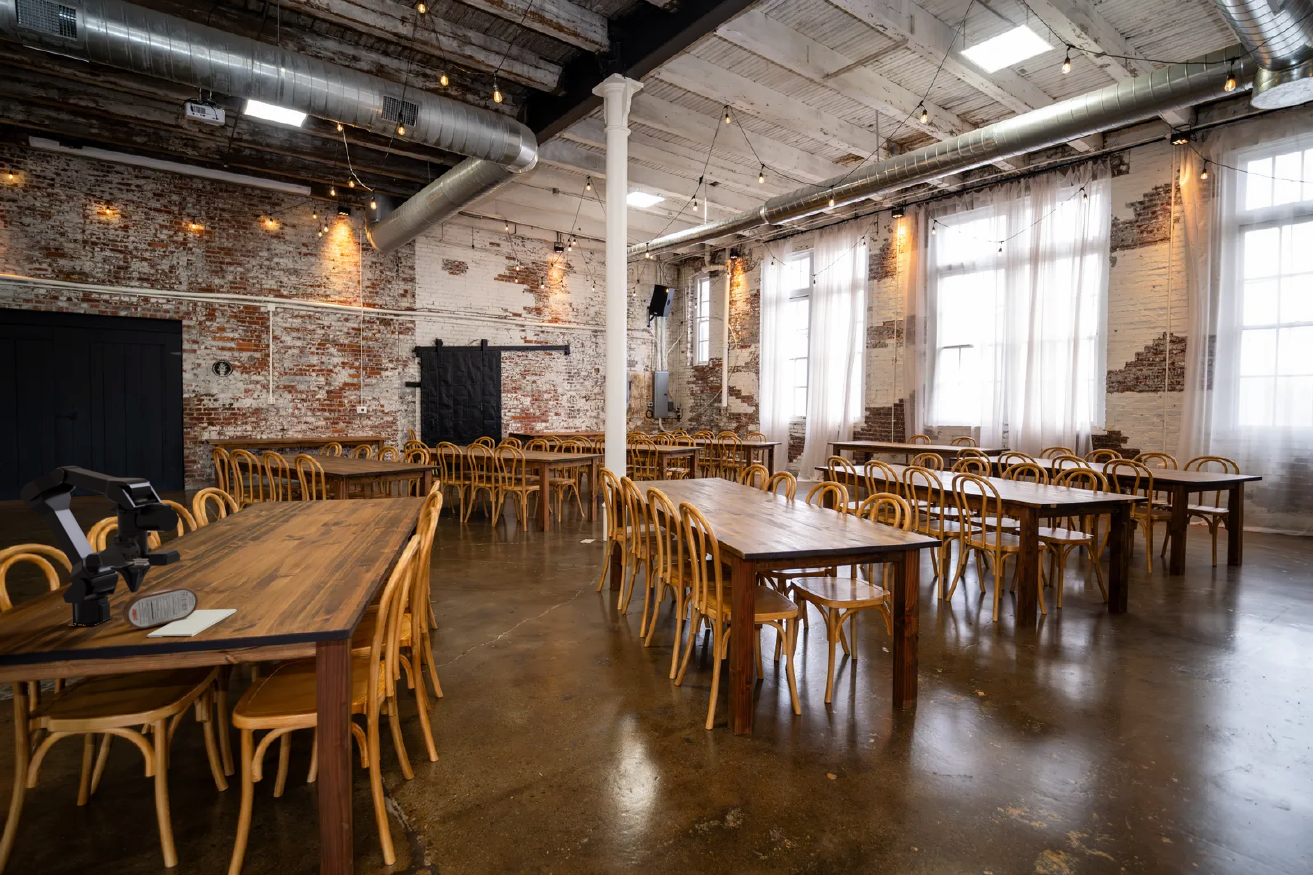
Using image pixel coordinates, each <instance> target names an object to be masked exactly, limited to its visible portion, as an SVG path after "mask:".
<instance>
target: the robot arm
mask: <svg viewBox="0 0 1313 875" xmlns="http://www.w3.org/2000/svg"><path fill="white" fill-rule="evenodd" d="M76 487H77V488H81V489H84V490H88V491H92V492H96V493H99V494H103V495H104V496H105V498H106V499H107V500H109V501H110V502H111V501H112V502H113V503H116V504H115V505H114V506H111V508H110V509H109V512H110V513H116V514H117V515H116V517H117V535H114V536H113V539H112V544H111V545H109V546H107V547H106V548H104V549H103V550H102V549H101V550H99V551H94V550H93V548H92V546H91V544H90V543H89V541H88V539H87V537H86V536H85V534H84V532H83V531H82V529H81V527H80V526H79V524H78V522H77V520H76V518H75V516H74V515H73V513H72V512H71V510H70V504H71V501H72V500H71V499H72V496H71V494H70V493H71V492H72V491H74V490H75V489H77V488H76ZM19 495H20V498H21V500H22V501H23V503H24V504H25V505H26V507H27V508H28V509H29V510H30V511H31V512H33V513H35V514H37V515H39V516H41V517H43V519H44V520H45V521H46V523H47V525H48V527H49V528H50V530H51V532H52V534H53V536H54V537H55V539H56V540H57V543H58V544H59V546H60V548H61V549H62V551H63V553H64V554H65V556H66V558H67V560H68V561H69V563H70V565H71V570H70V576H69V580H70V583H71V584H70V586H69V587H68V588H67V589H66V590H65V592H64V593H63V594H62V598H63V601H64V603H66V604H71V609H72V610H71V612H72V613H71V614H72V615H71V616H72V617H71V618H72V622H70V623H71V625H75V624H74V623H76V625H78V624H82V625H83V624H84V625H95V624H98V623H101V624H103V623H105V622H107V621H109V620H108V619H110V618H112V619H114V616H113V615H111V609H110V608H111V604H110V601H109V596H110V595H111V596H112V595H114V594H115V592H116V588H117V585H118V583H119V582H118V581H119V579H120V578H119V577H120V576H119V574H120V575H121V577H122V578H123V580H124V581H125V584H126V586H127V587H128V590H129V592H130V593H132V594H135V593H137V592H138V591H139V589H140V587H141V585H142V583H143V581H144V579H145V577H146V575H147V574H148V572H149V571H150V569H151V567H163V566H169V565H171V564H174V563H177V562H179V561H181V554H180V552H179V551H178V550H177V549H162V550H159V551H155V552H153V553H152V547H148V545H149V543H148V542H149V540H148V539H149V537H151V536H152V532H163V533H166V532H167V533H169V532H172V531H174V530H175V529H176V528H177V526H178V525H179V520H180V517H179V515H178V512H177V511H176V510H175V509H173V508H172V504H171V503H163V501H162V500H161V499H160V497H159V496H158V494H157V493H156V491H155V489H154V488H153V487H152V485H151V484H150V480H147V479H146V478H142V477H115V476H112V475H110V474H109V475H108V474H105V473H101V472H98V471H97V472H96V471H92V470H90V469H84V468H82V467H80V466H77V465H70V466H69V465H68V466H60V467H57V468H55V469H53V470H52V471H50V472H49V473H47V474H44V475H41V476H40V477H37V478H35V479H33V480H31V482H28V483H26V484H24V485H23V487H22V489H21V490H20V494H19ZM106 620H107V621H106ZM110 620H111V619H110ZM104 621H105V622H104ZM102 622H103V623H102ZM70 623H68V624H67V626H68V625H69V624H70ZM98 625H99V624H98Z"/></svg>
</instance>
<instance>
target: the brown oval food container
mask: <svg viewBox="0 0 1313 875" xmlns="http://www.w3.org/2000/svg"><path fill="white" fill-rule="evenodd" d="M198 605H199V597H198V595H197V593H196V592H195V591H194V590H193V589H192V588H191V587H189V586H185V585H177V586H171V587H166V588H162V589H157V590H152V591H148V592H143V593H139V594H136V595H134V596H133V597H130V599H128V601H126V603H125V605H124V607H123V610H122V617H123V620H124V621H125V623H127V624H128V625H129V626H131V627H134V628H137V629H147V628H152V627H155V626H160V625H164V624H169V623H172V622H174V621H177V620H181V619H184V618H186V617H188V616H190V615H191V614H192V613H193V612H194V611H195V610H197V607H198Z"/></svg>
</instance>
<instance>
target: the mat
mask: <svg viewBox="0 0 1313 875" xmlns="http://www.w3.org/2000/svg"><path fill="white" fill-rule="evenodd" d="M236 612H237V608H234V609H233V608H232V609H231V608H229V609H224V608H223V609H222V608H221V609H196V610H195V611H194V612H193V613H192V614H191V615H190V616H188V617H186V618H184V619H181V620H177V621H173V622H169V623H167V624H166V625H164V626H162V627H160V628H158V629H156V630H154V631H153V632H150V633H148V634H147V635H146V638H147V637H149V638H163V637H162V636H192V637H194V636H195V635H197V634H199V633H201V632H202V631H204V630H206V629H208V628H210V627H212V626H213V625H214V624H215V625H216V624H217V623H218V622H220V621H222V620H224V619H226V618H227V617H229V616H230V615H233V614H234V613H236Z"/></svg>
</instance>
